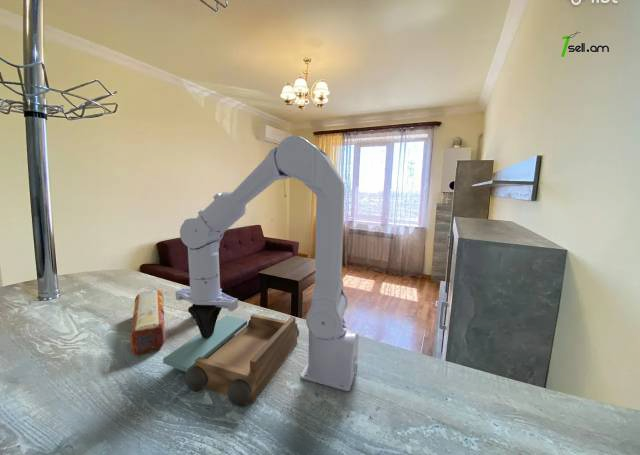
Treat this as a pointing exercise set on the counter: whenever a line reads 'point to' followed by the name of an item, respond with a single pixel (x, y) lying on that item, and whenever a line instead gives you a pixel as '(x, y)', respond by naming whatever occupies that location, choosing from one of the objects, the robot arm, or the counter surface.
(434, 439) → the counter surface
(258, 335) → the cart
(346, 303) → the robot arm
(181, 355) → the tailgate
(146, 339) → the snack package
